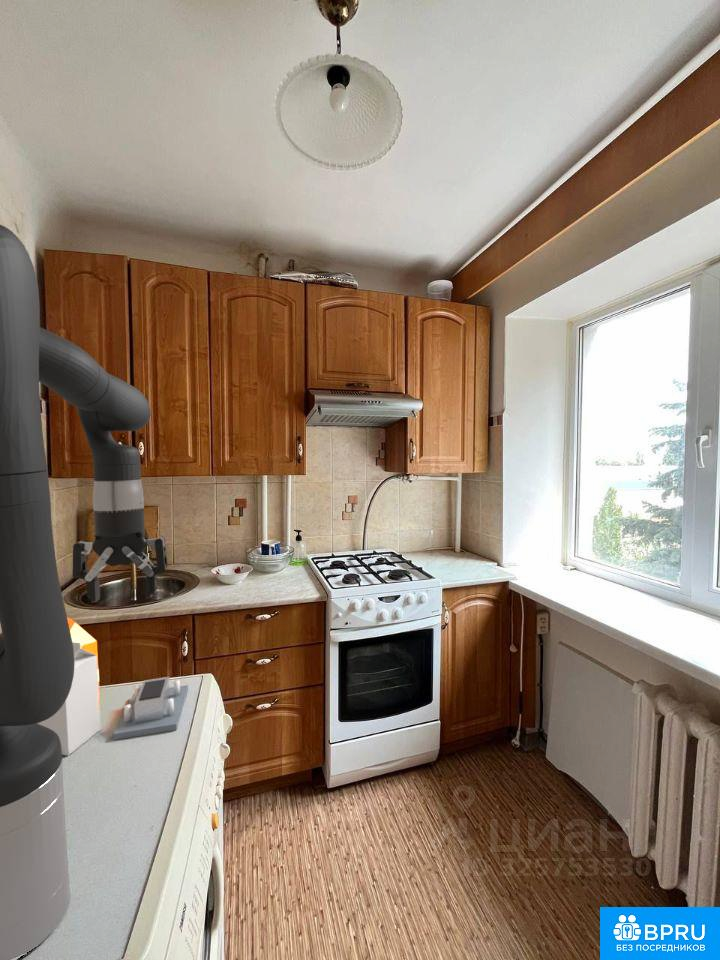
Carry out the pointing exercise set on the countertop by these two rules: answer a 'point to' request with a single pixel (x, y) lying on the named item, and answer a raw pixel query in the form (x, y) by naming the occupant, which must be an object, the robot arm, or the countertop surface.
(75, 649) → the milk carton
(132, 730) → the grey plate with pegs
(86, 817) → the countertop surface
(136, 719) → the block
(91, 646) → the orange juice
